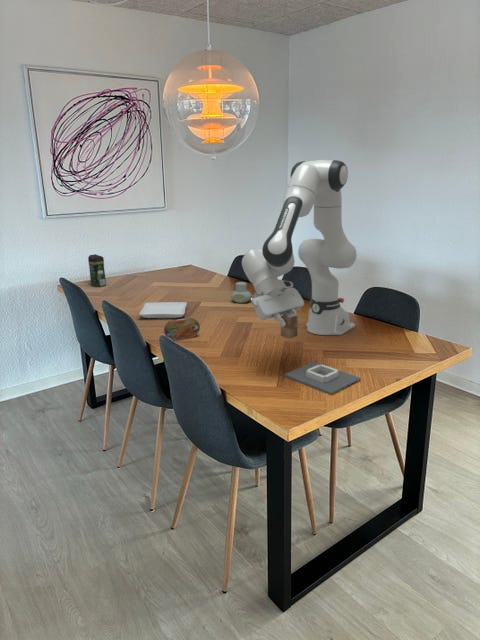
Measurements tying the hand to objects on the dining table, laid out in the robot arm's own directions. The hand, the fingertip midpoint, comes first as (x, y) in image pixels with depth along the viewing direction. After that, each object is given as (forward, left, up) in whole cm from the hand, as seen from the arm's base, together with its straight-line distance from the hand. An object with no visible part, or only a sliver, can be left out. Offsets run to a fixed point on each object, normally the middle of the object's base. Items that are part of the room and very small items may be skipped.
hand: (290, 323), depth 170 cm
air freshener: (-49, -78, -18) cm, 94 cm away
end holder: (-3, +12, -17) cm, 21 cm away
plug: (0, -1, -5) cm, 5 cm away
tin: (+7, -54, -18) cm, 57 cm away
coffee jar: (-13, -166, -18) cm, 167 cm away
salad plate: (-8, -89, -18) cm, 91 cm away
